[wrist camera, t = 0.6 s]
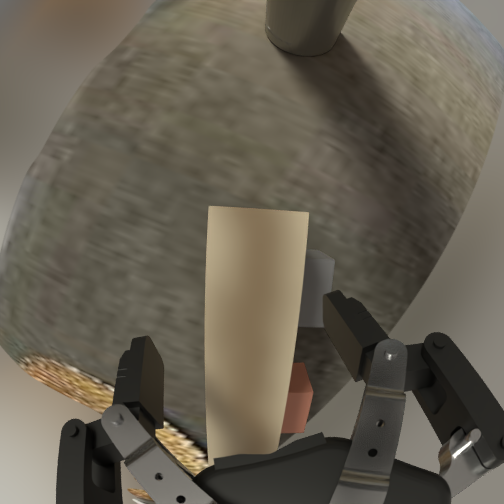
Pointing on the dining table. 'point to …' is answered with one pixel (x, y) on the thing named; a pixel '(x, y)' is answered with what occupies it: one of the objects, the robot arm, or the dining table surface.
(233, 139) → the dining table surface
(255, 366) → the key panel
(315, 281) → the graphite key
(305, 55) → the robot arm
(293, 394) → the brick red key
